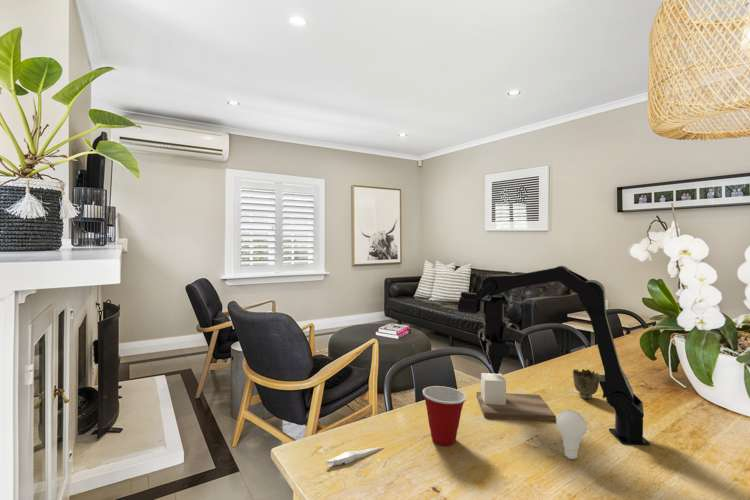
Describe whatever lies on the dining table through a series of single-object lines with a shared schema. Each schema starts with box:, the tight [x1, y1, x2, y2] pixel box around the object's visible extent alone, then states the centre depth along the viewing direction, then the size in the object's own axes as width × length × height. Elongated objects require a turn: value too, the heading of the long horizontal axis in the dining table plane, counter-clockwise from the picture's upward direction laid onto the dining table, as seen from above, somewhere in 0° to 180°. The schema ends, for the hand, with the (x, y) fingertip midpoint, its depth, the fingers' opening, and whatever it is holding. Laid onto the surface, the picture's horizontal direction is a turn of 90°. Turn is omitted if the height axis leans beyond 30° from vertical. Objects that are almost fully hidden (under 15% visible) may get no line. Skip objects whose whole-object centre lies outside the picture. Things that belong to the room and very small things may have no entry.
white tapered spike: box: [325, 446, 385, 468], centre depth 86 cm, size 15×3×2 cm, turn 121°
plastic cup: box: [422, 385, 468, 447], centre depth 93 cm, size 11×11×12 cm
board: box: [476, 391, 557, 422], centre depth 111 cm, size 14×19×2 cm
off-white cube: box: [480, 372, 507, 405], centre depth 113 cm, size 6×6×7 cm
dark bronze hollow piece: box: [572, 368, 601, 400], centre depth 118 cm, size 8×7×8 cm
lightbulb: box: [555, 409, 588, 460], centre depth 85 cm, size 6×6×11 cm
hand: (493, 368), depth 112 cm, fingers open, 8 cm apart
